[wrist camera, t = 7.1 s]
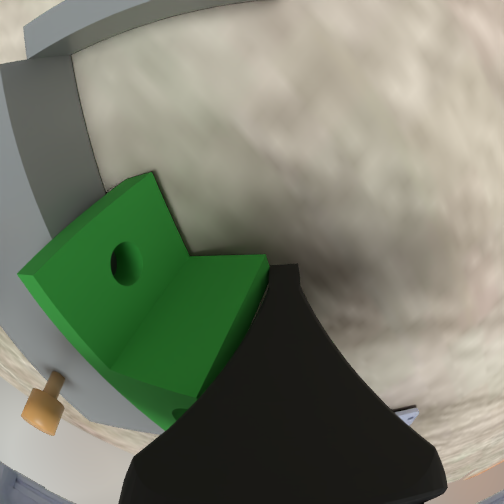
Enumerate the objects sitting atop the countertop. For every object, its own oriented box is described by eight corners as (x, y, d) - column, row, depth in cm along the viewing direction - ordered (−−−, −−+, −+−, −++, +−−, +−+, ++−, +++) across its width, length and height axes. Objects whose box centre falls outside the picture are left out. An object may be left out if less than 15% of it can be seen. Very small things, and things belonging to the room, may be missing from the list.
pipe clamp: (309, 390, 13) (281, 480, 10) (238, 381, 14) (204, 458, 11) (233, 150, 7) (99, 288, 3) (125, 177, 8) (12, 277, 5)
